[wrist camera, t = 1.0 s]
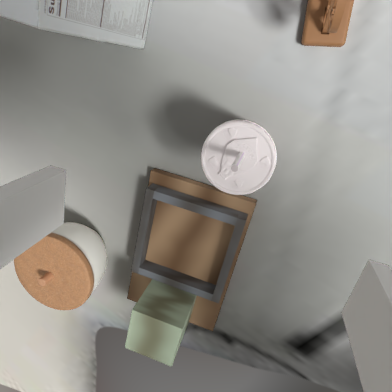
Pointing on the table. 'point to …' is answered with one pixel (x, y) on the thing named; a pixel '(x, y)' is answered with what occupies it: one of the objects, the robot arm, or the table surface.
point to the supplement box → (85, 18)
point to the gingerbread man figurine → (326, 22)
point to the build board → (182, 260)
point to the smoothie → (238, 157)
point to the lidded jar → (63, 266)
